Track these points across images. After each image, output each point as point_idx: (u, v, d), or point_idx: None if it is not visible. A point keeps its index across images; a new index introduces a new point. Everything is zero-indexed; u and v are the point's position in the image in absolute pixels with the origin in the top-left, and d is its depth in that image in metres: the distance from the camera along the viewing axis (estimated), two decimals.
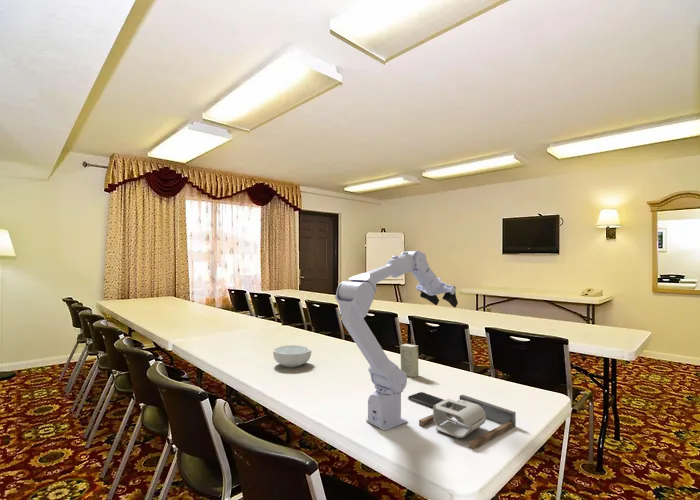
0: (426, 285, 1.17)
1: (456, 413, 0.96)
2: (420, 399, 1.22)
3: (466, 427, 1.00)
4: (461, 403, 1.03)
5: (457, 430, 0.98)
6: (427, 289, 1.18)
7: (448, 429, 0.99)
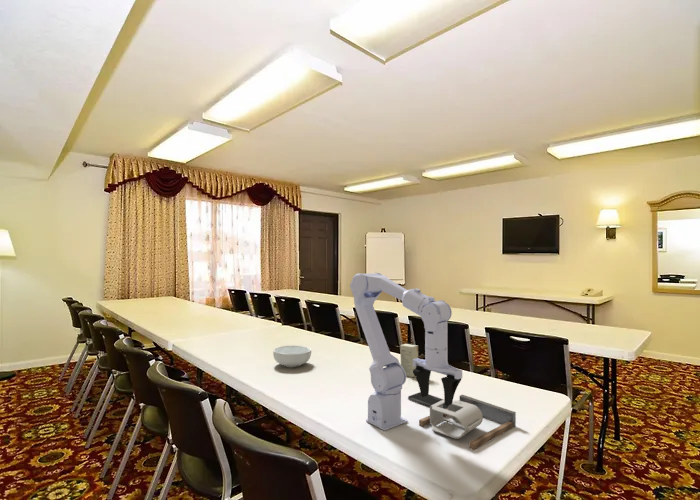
0: (433, 350, 0.93)
1: (452, 414, 0.96)
2: (420, 399, 1.22)
3: (463, 428, 1.00)
4: (458, 404, 1.03)
5: (454, 431, 0.98)
6: (430, 357, 0.93)
7: (445, 430, 0.99)
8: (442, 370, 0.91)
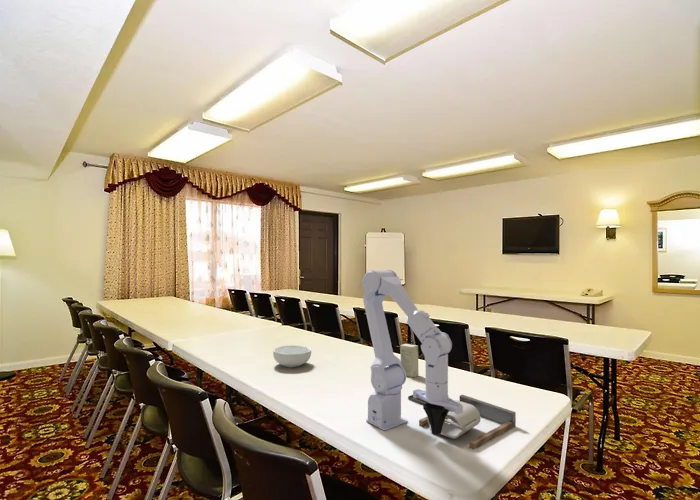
0: (433, 384, 0.93)
1: (450, 413, 0.96)
2: (420, 399, 1.22)
3: (460, 428, 1.00)
4: None
5: (451, 431, 0.98)
6: (430, 391, 0.93)
7: (442, 429, 0.99)
8: (442, 404, 0.91)
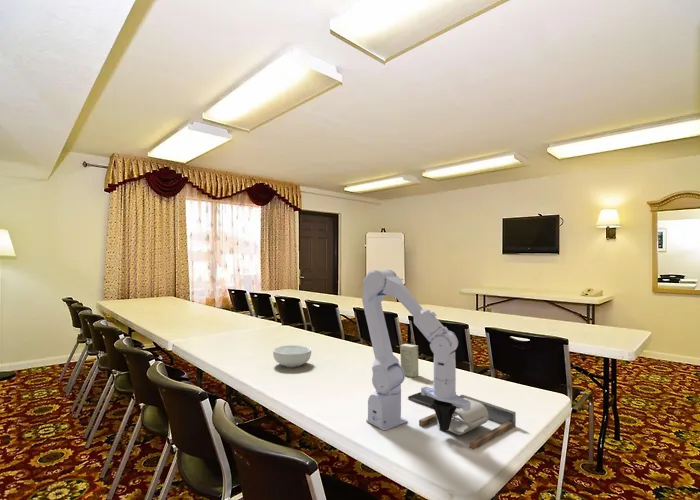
0: (441, 381, 0.95)
1: (456, 410, 0.98)
2: (420, 399, 1.22)
3: (468, 425, 1.01)
4: None
5: (458, 427, 1.00)
6: (439, 388, 0.95)
7: None
8: (450, 401, 0.93)
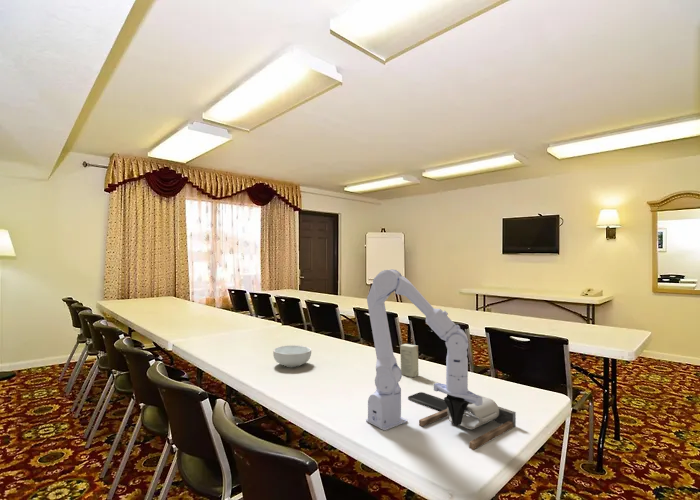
0: (454, 377, 0.98)
1: None
2: (420, 399, 1.22)
3: (479, 420, 1.04)
4: None
5: (469, 422, 1.03)
6: (451, 384, 0.99)
7: None
8: (463, 396, 0.97)
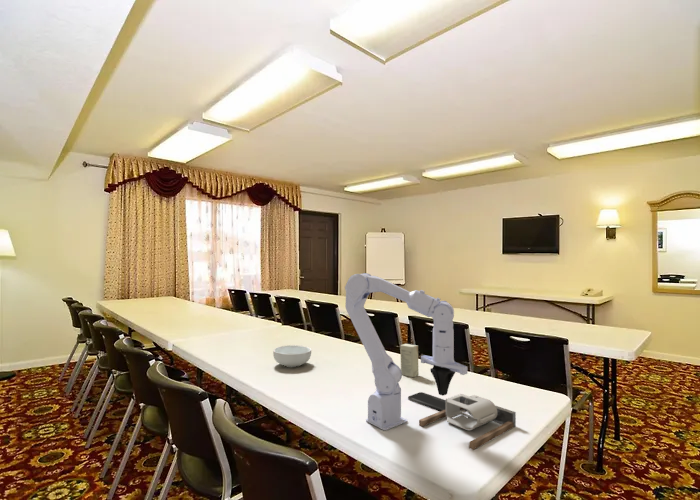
0: (440, 348, 1.00)
1: (465, 406, 1.01)
2: (420, 399, 1.22)
3: None
4: (473, 398, 1.07)
5: (467, 423, 1.03)
6: (437, 354, 1.00)
7: (459, 422, 1.04)
8: (448, 366, 0.98)
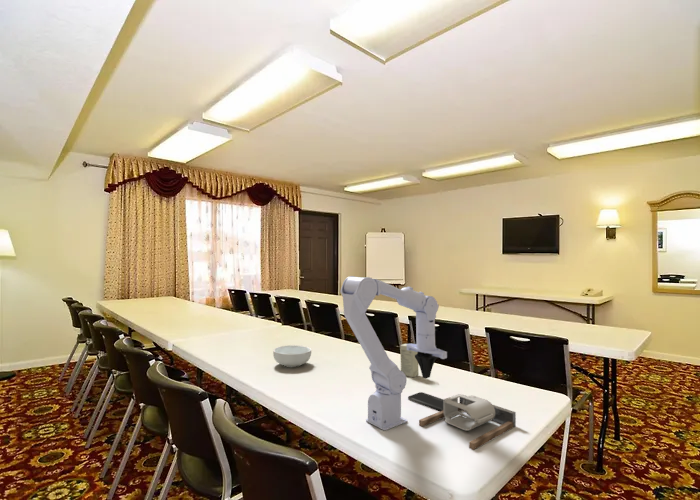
0: (422, 336, 1.12)
1: (463, 407, 1.00)
2: (420, 399, 1.22)
3: (475, 421, 1.04)
4: (471, 398, 1.07)
5: (465, 423, 1.03)
6: (420, 342, 1.12)
7: (457, 422, 1.03)
8: (430, 352, 1.10)
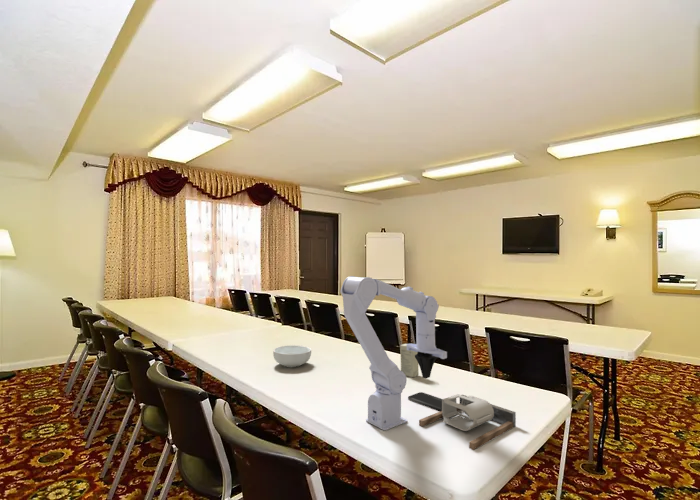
0: (422, 336, 1.12)
1: (462, 407, 1.00)
2: (420, 399, 1.22)
3: None
4: (470, 399, 1.07)
5: (464, 424, 1.02)
6: (420, 342, 1.12)
7: (455, 422, 1.03)
8: (430, 352, 1.10)
